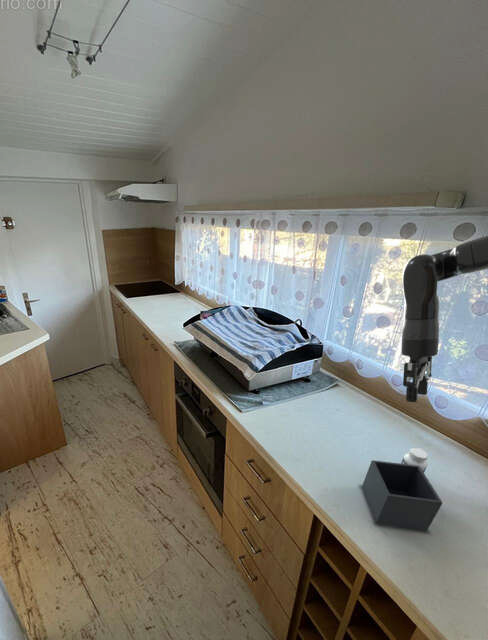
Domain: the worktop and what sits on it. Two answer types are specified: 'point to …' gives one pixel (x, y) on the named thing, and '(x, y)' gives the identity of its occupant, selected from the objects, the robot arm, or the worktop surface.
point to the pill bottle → (416, 458)
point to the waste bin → (400, 495)
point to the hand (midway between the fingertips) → (416, 397)
